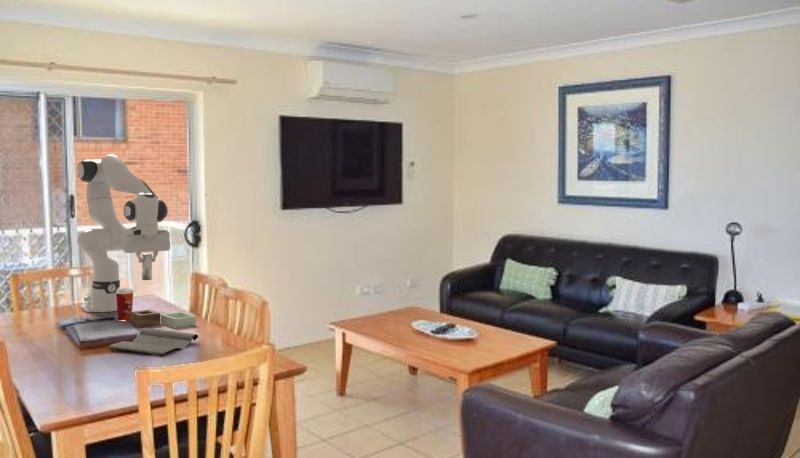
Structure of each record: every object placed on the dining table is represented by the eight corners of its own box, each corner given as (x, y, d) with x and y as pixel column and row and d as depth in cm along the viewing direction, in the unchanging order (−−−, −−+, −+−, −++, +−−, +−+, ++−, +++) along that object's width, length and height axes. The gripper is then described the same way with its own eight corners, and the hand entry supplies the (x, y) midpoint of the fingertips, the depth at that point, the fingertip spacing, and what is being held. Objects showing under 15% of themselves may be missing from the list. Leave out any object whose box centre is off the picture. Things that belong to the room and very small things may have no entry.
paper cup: (129, 322, 292) (129, 291, 291) (112, 322, 292) (112, 290, 291) (137, 318, 300) (137, 288, 299) (120, 318, 300) (120, 287, 299)
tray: (160, 323, 292) (160, 314, 292) (181, 320, 300) (181, 311, 299) (174, 328, 284) (174, 319, 284) (195, 325, 292) (195, 316, 291)
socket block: (130, 323, 290) (130, 312, 290) (150, 320, 297) (150, 309, 297) (139, 327, 284) (139, 315, 284) (160, 324, 291) (160, 312, 291)
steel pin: (140, 279, 289) (140, 254, 288) (149, 278, 292) (149, 253, 291) (144, 280, 286) (144, 255, 286) (153, 279, 289) (153, 254, 288)
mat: (107, 353, 244) (107, 340, 244) (146, 338, 267) (147, 327, 267) (163, 359, 239) (163, 346, 238) (198, 344, 262) (198, 332, 261)
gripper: (165, 229, 297) (165, 259, 298) (120, 230, 282) (120, 262, 283) (173, 230, 293) (172, 261, 294) (127, 231, 278) (127, 264, 279)
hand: (146, 262), depth 289 cm, fingers closed on steel pin, 4 cm apart
